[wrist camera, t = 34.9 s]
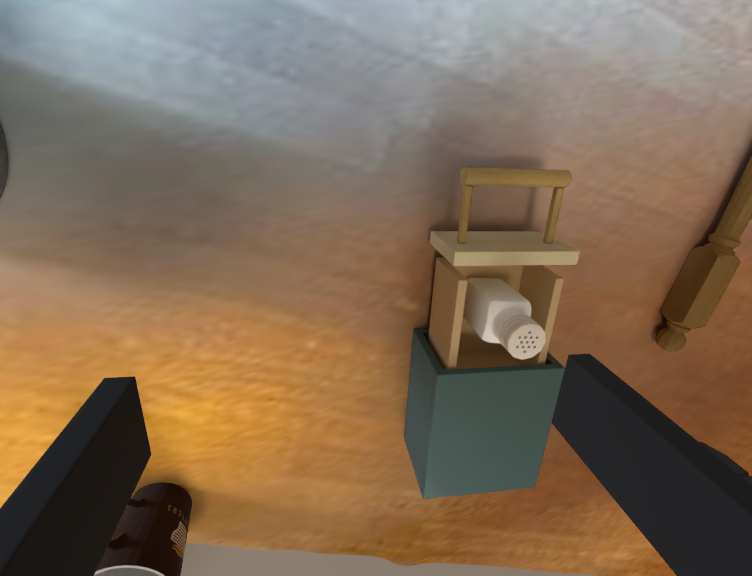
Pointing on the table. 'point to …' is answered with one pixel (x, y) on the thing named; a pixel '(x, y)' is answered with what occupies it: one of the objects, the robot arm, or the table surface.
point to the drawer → (496, 271)
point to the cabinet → (477, 423)
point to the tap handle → (707, 271)
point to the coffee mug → (150, 534)
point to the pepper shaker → (502, 317)
